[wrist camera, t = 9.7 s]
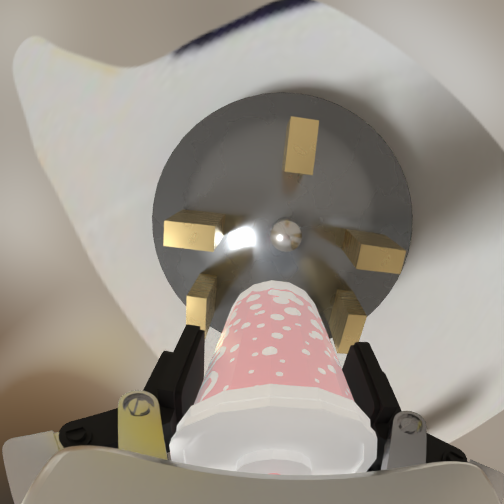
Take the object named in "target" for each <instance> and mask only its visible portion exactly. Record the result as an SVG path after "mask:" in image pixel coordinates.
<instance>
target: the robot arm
mask: <svg viewBox="0 0 504 504" xmlns="http://www.w3.org/2000/svg"><path fill="white" fill-rule="evenodd" d="M204 343H205V331H204V330H201V329H200V326H196V325H189V324H187V325H186V327H185V329H184V331H183V333H182V335H181V337H180V339H179V341H178V344H177V346H176V348H175V350H174V352H169V351H163V353H162V354H161V356H160V358H159V360H158V362H157V364H156V366H155V368H154V370H153V372H152V374H151V376H150V378H149V380H148V382H147V384H146V386H145V388H144V390H143V391H141V390H135V391H130V392H128V393H126V394H124V395H123V396H122V397H121V398H120V400H119V403H118V408H116V409H113V410H110V411H107V412H103V413H100V414H97V415H93V416H89V417H86V418H82V419H78V420H75V421H71V422H69V423H66V424H65V425H64V426H62V428H61V429H60V431H59V432H58V433H53V431H48V432H43V433H38V434H33V435H28V436H22V437H17V438H12V439H9V440H8V441H6V442H5V443H4V446H3V452H2V453H3V458H4V464H5V468H6V472H7V477H8V481H9V485H10V489H11V493H12V496H13V500H14V503H15V504H502V500H503V497H504V474H503V473H501V472H499V471H497V470H494V469H492V468H490V467H487V466H485V465H482V464H480V463H477V462H475V461H473V460H470V461H469V462H468V461H467V458H466V456H465V454H464V453H463V452H462V451H461V450H460V449H458V448H456V447H454V446H452V445H450V444H448V443H446V442H444V441H442V440H440V439H438V438H436V437H434V436H432V435H430V434H428V433H426V422H425V421H424V419H423V418H422V417H421V416H420V415H419V414H417V413H415V412H412V411H401V409H400V406H399V404H398V402H397V399H396V397H395V395H394V393H393V390H392V388H391V386H390V384H389V381H388V379H387V377H386V375H385V373H384V372H382V370H381V368H380V366H379V363H378V361H377V359H376V357H375V355H374V352H373V350H372V348H371V346H370V344H369V343H368V342H355V344H354V345H351V346H350V348H349V351H348V354H347V357H346V360H345V363H344V366H343V368H342V371H343V374H344V376H345V379H346V381H347V384H348V386H349V389H350V391H351V394H352V397H353V399H354V402H355V403H356V404H357V405H358V406H359V408H360V409H361V410H362V411H363V412H364V413H365V414H366V415H367V416H368V418H369V419H370V427H371V428H372V429H373V430H374V431H375V433H376V436H377V458H376V460H375V461H374V463H373V464H372V465H371V466H370V468H369V469H368V470H367V471H366V472H362V473H350V474H333V475H276V474H259V473H247V472H237V471H229V470H221V469H214V468H208V467H202V466H196V465H190V464H185V463H180V462H175V461H170V460H168V455H167V453H168V452H170V447H169V444H170V441H171V438H172V437H173V436H174V434H175V433H176V429H177V425H178V423H179V422H180V421H181V419H182V418H183V416H184V415H185V414H186V412H187V411H188V410H189V408H190V407H191V406H192V405H194V403H195V400H196V398H197V395H198V393H199V390H200V388H201V385H202V382H203V380H204Z"/></svg>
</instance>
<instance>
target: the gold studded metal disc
mask: <svg viewBox="0 0 504 504" xmlns="http://www.w3.org/2000/svg"><path fill="white" fill-rule="evenodd" d="M152 223H153V237H154V243H155V248H156V252H157V256H158V259H159V262H160V265H161V267H162V270H163V272H164V274H165V276H166V278H167V280H168V282H169V284H170V285H171V287H172V288H173V290H174V291H175V293H176V294H177V296H178V297H179V298H180V299H181V301H182V302H183V303H184V304H185V305H186V325H187V324H189V325H196V326H200V329H201V330H204V331H205V338H206V335H207V332H208V329H209V327H212V328H214V329H216V330H217V331H219V332H221V333H222V331H223V329H224V326H225V324H226V321H227V318H228V316H229V313H230V311H231V308H232V306H233V305H234V303H235V301H236V300H237V298H238V297H239V295H240V294H241V293H242V292H244V291H245V290H247V289H248V288H250V287H251V286H252V285H254V284H258V283H262V282H266V281H271V280H274V281H282V282H290V283H291V284H293V285H295V286H297V287H299V288H301V289H303V290H304V291H305V292H306V293H307V294H308V296H309V297H310V298H311V299H312V301H313V302H314V303H315V306H316V308H317V310H318V313H319V315H320V317H321V320H322V322H323V325H324V327H325V329H326V332H327V334H328V337H329V339H330V338H332V337H333V341H334V344H335V347H336V351H337V353H345V354H348V351H349V348H350V346H351V345H354V344H355V342H359V339H360V336H361V333H362V330H363V327H364V324H365V320H366V317H367V316H368V315H369V314H371V313H372V312H373V311H374V310H375V309H376V308H377V307H378V306H379V305H380V304H381V302H382V301H383V300H384V299H385V297H386V296H387V295H388V294H389V292H390V291H391V289H392V287H393V286H394V284H395V282H396V281H397V279H398V277H399V275H400V273H401V271H402V268H403V266H404V264H405V260H406V257H407V254H408V251H409V246H410V240H411V234H412V207H411V198H410V194H409V190H408V186H407V182H406V179H405V177H404V174H403V172H402V169H401V167H400V165H399V163H398V161H397V159H396V157H395V156H394V154H393V152H392V151H391V149H390V148H389V147H388V145H387V144H386V143H385V141H384V140H383V139H382V137H381V136H380V135H379V134H378V133H377V132H376V131H375V130H374V129H373V128H372V127H371V126H370V125H369V124H367V123H366V122H365V121H363V120H362V119H361V118H359V117H358V116H357V115H355V114H354V113H352V112H350V111H349V110H347V109H345V108H343V107H341V106H339V105H337V104H335V103H332V102H330V101H327V100H324V99H322V98H318V97H314V96H309V95H304V94H296V93H269V94H261V95H256V96H252V97H247V98H244V99H241V100H238V101H236V102H233V103H230V104H228V105H226V106H224V107H222V108H220V109H218V110H217V111H215V112H213V113H211V114H210V115H209V116H207V117H206V118H205V119H203V120H202V121H200V122H199V123H198V124H197V125H196V126H195V127H194V128H192V129H191V130H190V131H189V132H188V133H187V134H186V135H185V136H184V138H183V139H182V140H181V141H180V143H179V144H178V145H177V147H176V148H175V149H174V151H173V152H172V154H171V156H170V157H169V159H168V161H167V163H166V165H165V167H164V169H163V171H162V174H161V176H160V179H159V182H158V185H157V189H156V193H155V198H154V204H153V215H152Z"/></svg>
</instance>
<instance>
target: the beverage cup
mask: <svg viewBox="0 0 504 504" xmlns="http://www.w3.org/2000/svg"><path fill="white" fill-rule="evenodd" d="M169 447H170V454H171V460H172V461H175V462H180V463H185V464H190V465H196V466H202V467H208V468H214V469H221V470H229V471H237V472H247V473H259V474H276V475H333V474H350V473H362V472H366V471H367V470H368V469H369V468H370V466H371V465H372V464H373V463H374V461H375V460H376V458H377V436H376V433H375V431H374V430H373V429H372V428H371V427H370V419H369V418H368V416H367V415H366V414H365V413H364V412H363V411H362V410H361V409H360V408H359V406H358V405H357V404H356V403H355V402H354V399H353V397H352V394H351V391H350V389H349V386H348V384H347V381H346V379H345V376H344V374H343V371H342V369H341V366H340V364H339V361H338V359H337V356H336V354H335V351H334V349H333V346H332V344H331V341H330V339H329V337H328V334H327V332H326V329H325V327H324V325H323V322H322V320H321V317H320V315H319V313H318V310H317V308H316V306H315V303H314V302H313V301H312V299H311V298H310V297H309V296H308V294H307V293H306V292H305V291H304V290H303V289H301V288H299V287H297V286H295V285H293V284H291V283H290V282H282V281H274V280H271V281H266V282H262V283H258V284H254V285H252V286H251V287H250V288H248V289H247V290H245V291H244V292H242V293H241V294H240V295H239V297H238V298H237V300H236V301H235V303H234V305H233V306H232V308H231V311H230V313H229V316H228V318H227V321H226V324H225V326H224V329H223V331H222V334H221V336H220V339H219V341H218V344H217V347H216V349H215V352H214V354H213V357H212V359H211V362H210V365H209V367H208V370H207V372H206V375H205V377H204V380H203V382H202V385H201V388H200V390H199V393H198V395H197V398H196V400H195V403H194V405H192V406H191V407H190V408H189V410H188V411H187V412H186V414H185V415H184V416H183V418H182V419H181V421H180V422H179V423H178V425H177V429H176V433H175V434H174V436H173V437H172V438H171V441H170V444H169Z"/></svg>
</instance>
